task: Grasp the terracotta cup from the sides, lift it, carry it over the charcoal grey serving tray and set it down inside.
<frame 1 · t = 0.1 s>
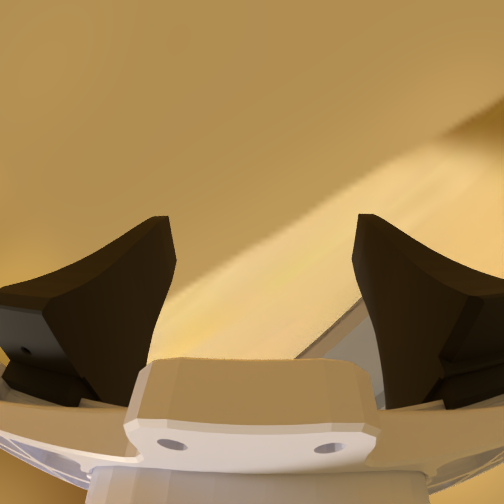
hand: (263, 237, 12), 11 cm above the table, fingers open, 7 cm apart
serving tray: (362, 363, 28), on the table
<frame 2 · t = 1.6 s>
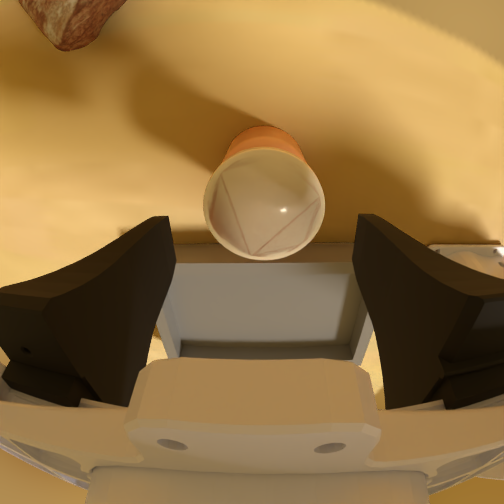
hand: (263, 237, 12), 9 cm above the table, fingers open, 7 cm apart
cup: (264, 163, 19), on the table
serving tray: (265, 304, 26), on the table
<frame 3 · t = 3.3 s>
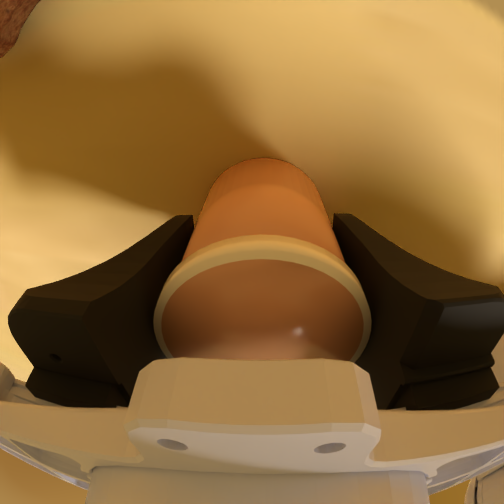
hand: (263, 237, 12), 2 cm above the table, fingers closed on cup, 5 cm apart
cup: (263, 214, 13), on the table, touching gripper
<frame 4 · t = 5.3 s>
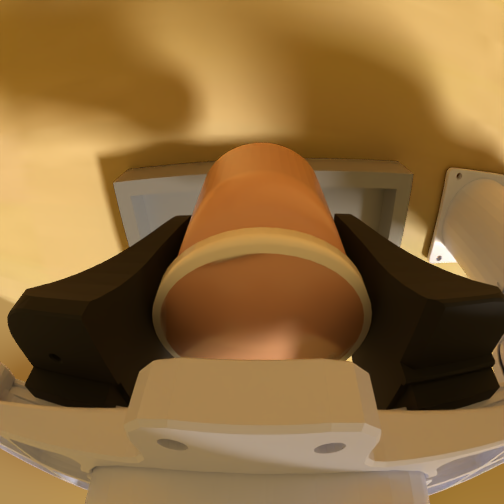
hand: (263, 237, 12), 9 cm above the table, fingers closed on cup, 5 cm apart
cup: (261, 199, 13), point 7 cm above the table, touching gripper
serving tray: (265, 241, 22), on the table
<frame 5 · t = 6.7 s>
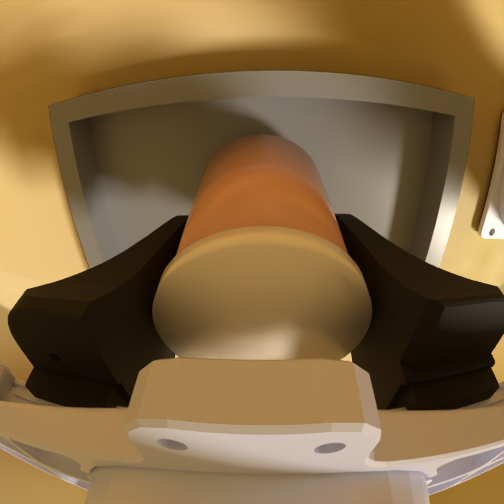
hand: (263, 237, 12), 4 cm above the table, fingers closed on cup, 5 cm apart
cup: (261, 191, 13), point 2 cm above the table, tilted 7°, touching gripper
serving tray: (263, 196, 15), on the table
when the fingers open (4 cm above the table, at t = 7.5 s): cup stays where it is, resting on serving tray.
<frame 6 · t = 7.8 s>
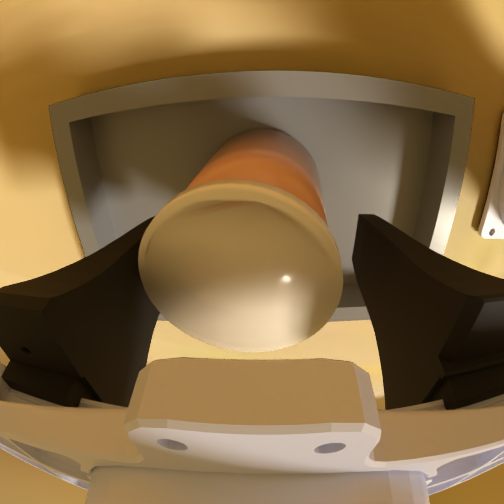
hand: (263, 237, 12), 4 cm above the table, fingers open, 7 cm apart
cup: (262, 183, 14), point 1 cm above the table, tilted 6°, touching serving tray
serving tray: (263, 196, 15), on the table
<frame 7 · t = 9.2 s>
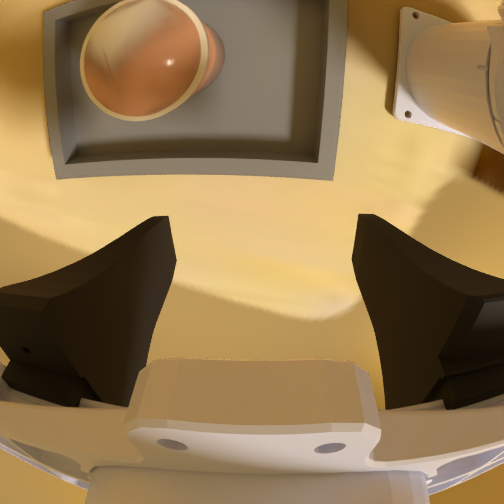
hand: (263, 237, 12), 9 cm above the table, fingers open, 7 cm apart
cup: (182, 57, 15), point 1 cm above the table, touching serving tray
serving tray: (185, 72, 16), on the table
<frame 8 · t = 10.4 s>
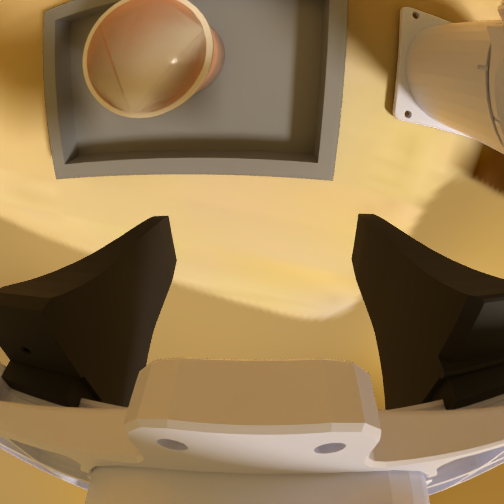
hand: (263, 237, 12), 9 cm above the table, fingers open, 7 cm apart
cup: (182, 56, 15), point 1 cm above the table, touching serving tray
serving tray: (185, 72, 16), on the table
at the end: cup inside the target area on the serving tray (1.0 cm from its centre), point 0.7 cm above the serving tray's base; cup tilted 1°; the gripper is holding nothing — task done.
